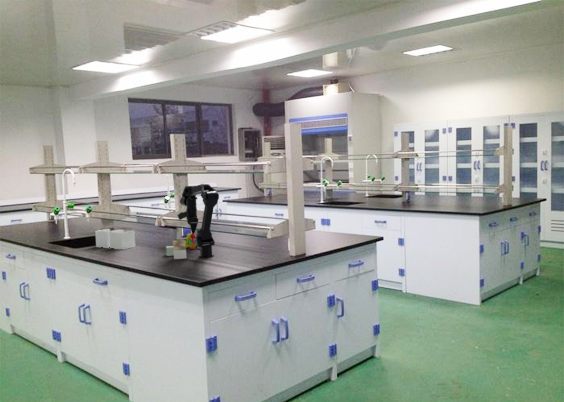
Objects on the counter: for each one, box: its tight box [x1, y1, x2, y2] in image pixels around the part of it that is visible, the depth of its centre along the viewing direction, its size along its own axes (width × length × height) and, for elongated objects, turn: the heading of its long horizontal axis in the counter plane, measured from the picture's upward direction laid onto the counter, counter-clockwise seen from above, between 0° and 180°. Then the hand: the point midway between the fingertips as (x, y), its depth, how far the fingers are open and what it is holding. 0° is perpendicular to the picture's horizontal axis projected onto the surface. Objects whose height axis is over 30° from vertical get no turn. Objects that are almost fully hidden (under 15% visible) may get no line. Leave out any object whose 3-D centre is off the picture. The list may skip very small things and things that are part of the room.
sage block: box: [165, 245, 174, 257], centre depth 292 cm, size 7×4×5 cm, turn 103°
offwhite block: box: [173, 249, 187, 260], centre depth 281 cm, size 7×4×5 cm, turn 103°
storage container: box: [94, 228, 136, 250], centre depth 326 cm, size 25×11×11 cm, turn 59°
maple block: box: [172, 239, 187, 251], centre depth 281 cm, size 7×4×5 cm, turn 103°
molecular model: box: [185, 233, 198, 250], centre depth 313 cm, size 11×10×15 cm
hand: (192, 232), depth 295 cm, fingers open, 9 cm apart
